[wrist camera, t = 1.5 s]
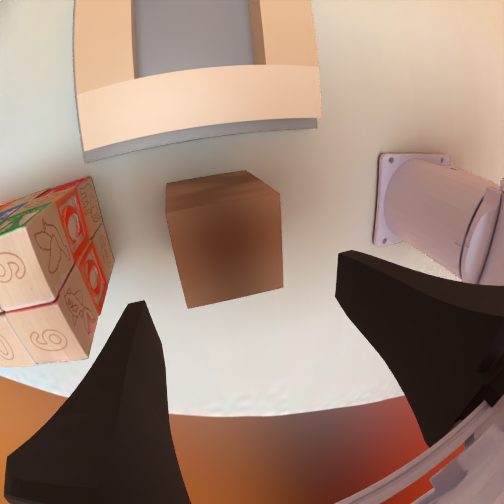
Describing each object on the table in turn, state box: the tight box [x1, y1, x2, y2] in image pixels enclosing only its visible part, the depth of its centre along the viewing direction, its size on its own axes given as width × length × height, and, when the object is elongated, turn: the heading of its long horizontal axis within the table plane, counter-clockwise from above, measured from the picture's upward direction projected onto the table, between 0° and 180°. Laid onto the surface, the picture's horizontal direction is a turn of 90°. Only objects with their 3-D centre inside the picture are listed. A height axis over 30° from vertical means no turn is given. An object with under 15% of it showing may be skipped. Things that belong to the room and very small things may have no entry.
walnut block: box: [166, 170, 283, 309], centre depth 16 cm, size 5×5×6 cm
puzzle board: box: [73, 0, 322, 164], centre depth 11 cm, size 14×14×3 cm
